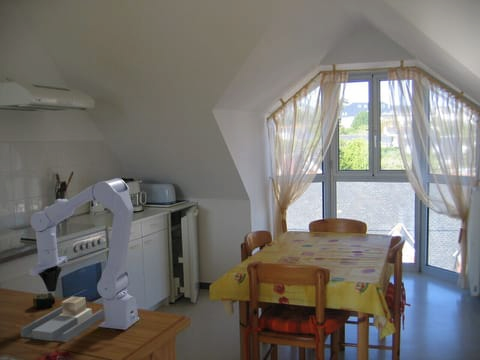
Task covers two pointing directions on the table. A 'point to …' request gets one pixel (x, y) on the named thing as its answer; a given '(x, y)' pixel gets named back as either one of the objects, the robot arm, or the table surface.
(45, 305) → the tape measure
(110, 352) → the table surface
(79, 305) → the maple block
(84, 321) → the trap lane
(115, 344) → the table surface
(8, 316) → the table surface
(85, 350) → the table surface
